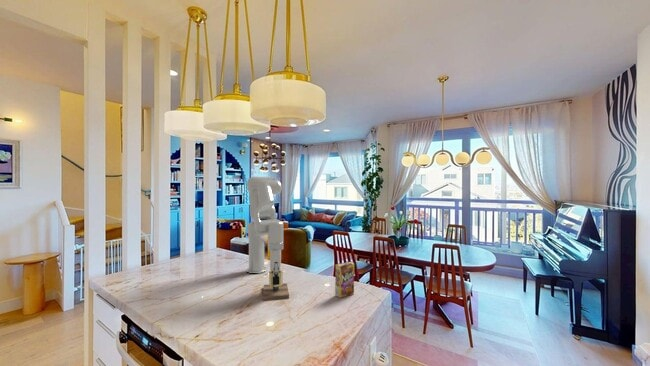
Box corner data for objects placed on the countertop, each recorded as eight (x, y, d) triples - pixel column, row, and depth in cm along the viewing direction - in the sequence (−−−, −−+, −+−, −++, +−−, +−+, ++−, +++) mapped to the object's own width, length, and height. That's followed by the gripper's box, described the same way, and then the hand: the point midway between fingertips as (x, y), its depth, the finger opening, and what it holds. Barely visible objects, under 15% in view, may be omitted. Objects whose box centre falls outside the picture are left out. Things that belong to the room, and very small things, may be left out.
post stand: (263, 287, 136) (263, 272, 136) (286, 286, 139) (286, 270, 139) (263, 300, 120) (263, 283, 121) (289, 298, 123) (289, 281, 123)
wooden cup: (269, 282, 132) (269, 270, 132) (282, 281, 133) (282, 269, 134) (269, 287, 126) (269, 274, 126) (282, 286, 127) (282, 273, 127)
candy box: (340, 298, 123) (340, 266, 123) (334, 295, 126) (334, 263, 127) (354, 294, 127) (354, 263, 128) (349, 291, 131) (349, 261, 131)
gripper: (268, 243, 138) (268, 277, 137) (268, 250, 121) (268, 289, 120) (282, 242, 139) (282, 276, 139) (284, 249, 122) (284, 287, 122)
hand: (275, 281), depth 130 cm, fingers closed on wooden cup, 6 cm apart
